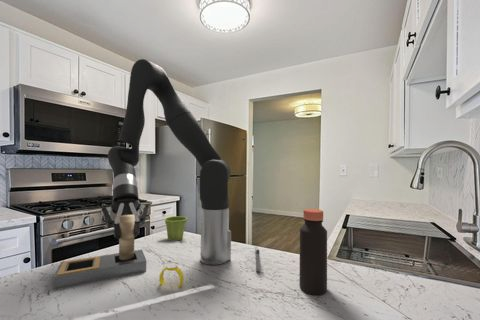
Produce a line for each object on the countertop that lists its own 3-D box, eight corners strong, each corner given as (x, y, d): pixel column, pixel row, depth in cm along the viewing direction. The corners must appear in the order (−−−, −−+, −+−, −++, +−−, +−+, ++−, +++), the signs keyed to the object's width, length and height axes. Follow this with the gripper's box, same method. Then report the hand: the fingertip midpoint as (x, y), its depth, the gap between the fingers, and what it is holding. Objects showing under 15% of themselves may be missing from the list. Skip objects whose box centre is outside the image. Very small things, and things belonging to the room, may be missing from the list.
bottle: (294, 284, 62) (294, 209, 62) (314, 280, 64) (314, 207, 65) (311, 298, 56) (311, 213, 56) (333, 292, 58) (333, 212, 59)
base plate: (141, 262, 75) (142, 248, 75) (146, 274, 66) (146, 259, 67) (60, 276, 65) (60, 261, 65) (52, 293, 56) (53, 276, 56)
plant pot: (166, 235, 103) (166, 216, 104) (187, 235, 104) (188, 216, 105) (161, 242, 94) (161, 221, 94) (185, 242, 95) (185, 220, 95)
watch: (183, 288, 60) (186, 265, 60) (179, 294, 57) (181, 270, 57) (162, 284, 61) (164, 261, 61) (156, 289, 58) (159, 265, 58)
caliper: (259, 273, 69) (259, 251, 69) (255, 273, 69) (256, 251, 69) (257, 248, 89) (257, 232, 90) (254, 248, 89) (254, 232, 90)
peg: (133, 253, 71) (133, 214, 72) (134, 258, 68) (135, 216, 68) (118, 256, 69) (119, 215, 70) (119, 260, 66) (119, 218, 66)
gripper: (100, 183, 72) (98, 233, 61) (149, 182, 79) (155, 226, 68) (100, 198, 77) (98, 247, 66) (147, 196, 84) (152, 239, 73)
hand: (127, 236), depth 67 cm, fingers closed on peg, 4 cm apart
